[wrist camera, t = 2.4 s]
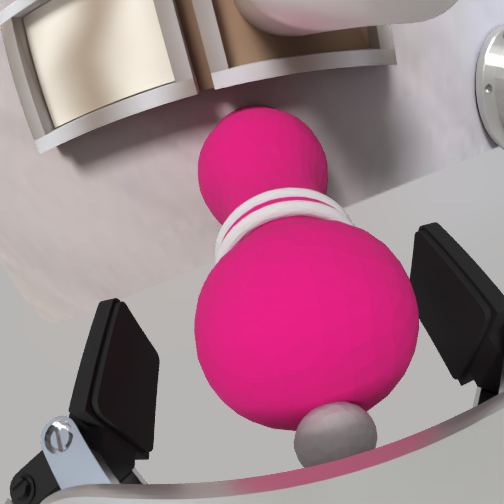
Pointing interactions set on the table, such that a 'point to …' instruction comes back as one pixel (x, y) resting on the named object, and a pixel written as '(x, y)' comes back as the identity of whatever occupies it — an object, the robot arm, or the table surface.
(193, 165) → the table surface
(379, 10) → the salt shaker
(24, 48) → the rail
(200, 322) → the pepper mill
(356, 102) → the table surface
